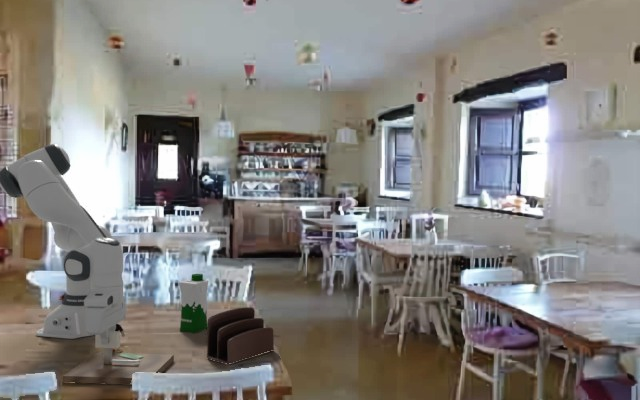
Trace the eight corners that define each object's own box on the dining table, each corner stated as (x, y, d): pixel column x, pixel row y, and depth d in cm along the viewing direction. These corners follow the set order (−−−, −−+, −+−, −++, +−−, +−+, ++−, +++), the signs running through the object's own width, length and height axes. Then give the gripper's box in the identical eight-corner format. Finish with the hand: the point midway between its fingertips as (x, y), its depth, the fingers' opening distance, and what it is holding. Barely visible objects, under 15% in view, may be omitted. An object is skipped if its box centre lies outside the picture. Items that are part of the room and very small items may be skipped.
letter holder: (206, 359, 192) (206, 314, 191) (252, 346, 207) (252, 304, 207) (228, 366, 186) (228, 319, 185) (274, 351, 201) (274, 308, 200)
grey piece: (95, 364, 179) (95, 332, 178) (98, 361, 181) (98, 330, 181) (136, 365, 178) (136, 333, 177) (139, 362, 180) (139, 331, 180)
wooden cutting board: (62, 383, 169) (62, 374, 169) (97, 358, 191) (97, 351, 191) (149, 385, 168) (149, 377, 168) (173, 361, 190) (173, 353, 189)
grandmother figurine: (127, 349, 201) (127, 310, 200) (124, 353, 197) (124, 313, 197) (103, 349, 201) (103, 310, 200) (99, 353, 197) (99, 313, 196)
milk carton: (210, 328, 229) (210, 274, 228) (195, 334, 221) (195, 278, 220) (192, 325, 233) (192, 272, 232) (175, 331, 225) (175, 276, 224)
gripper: (111, 287, 189) (111, 332, 190) (80, 301, 169) (81, 352, 169) (131, 288, 189) (131, 333, 189) (103, 302, 168) (103, 352, 169)
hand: (107, 342), depth 179 cm, fingers closed on grey piece, 2 cm apart
